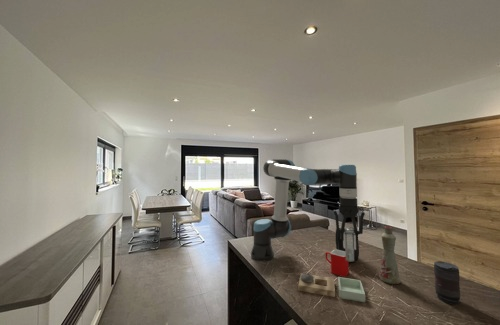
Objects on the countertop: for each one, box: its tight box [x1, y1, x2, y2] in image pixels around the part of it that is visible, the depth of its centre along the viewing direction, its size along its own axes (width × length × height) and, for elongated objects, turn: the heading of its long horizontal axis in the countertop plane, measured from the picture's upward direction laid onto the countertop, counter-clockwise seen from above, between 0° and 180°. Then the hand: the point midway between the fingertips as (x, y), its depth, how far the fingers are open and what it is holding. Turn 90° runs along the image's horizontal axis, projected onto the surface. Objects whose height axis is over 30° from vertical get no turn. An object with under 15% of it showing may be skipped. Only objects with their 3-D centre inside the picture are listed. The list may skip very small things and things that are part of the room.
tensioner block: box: [298, 272, 336, 298], centre depth 100 cm, size 16×12×4 cm
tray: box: [337, 276, 366, 303], centre depth 95 cm, size 10×12×4 cm
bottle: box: [378, 225, 401, 285], centre depth 106 cm, size 9×9×28 cm
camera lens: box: [433, 260, 461, 305], centre depth 90 cm, size 8×8×15 cm
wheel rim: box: [335, 226, 360, 262], centre depth 132 cm, size 20×9×20 cm, turn 168°
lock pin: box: [344, 227, 355, 262], centre depth 96 cm, size 5×5×14 cm
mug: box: [325, 249, 350, 278], centre depth 116 cm, size 12×8×11 cm
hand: (349, 247), depth 96 cm, fingers closed on lock pin, 4 cm apart
